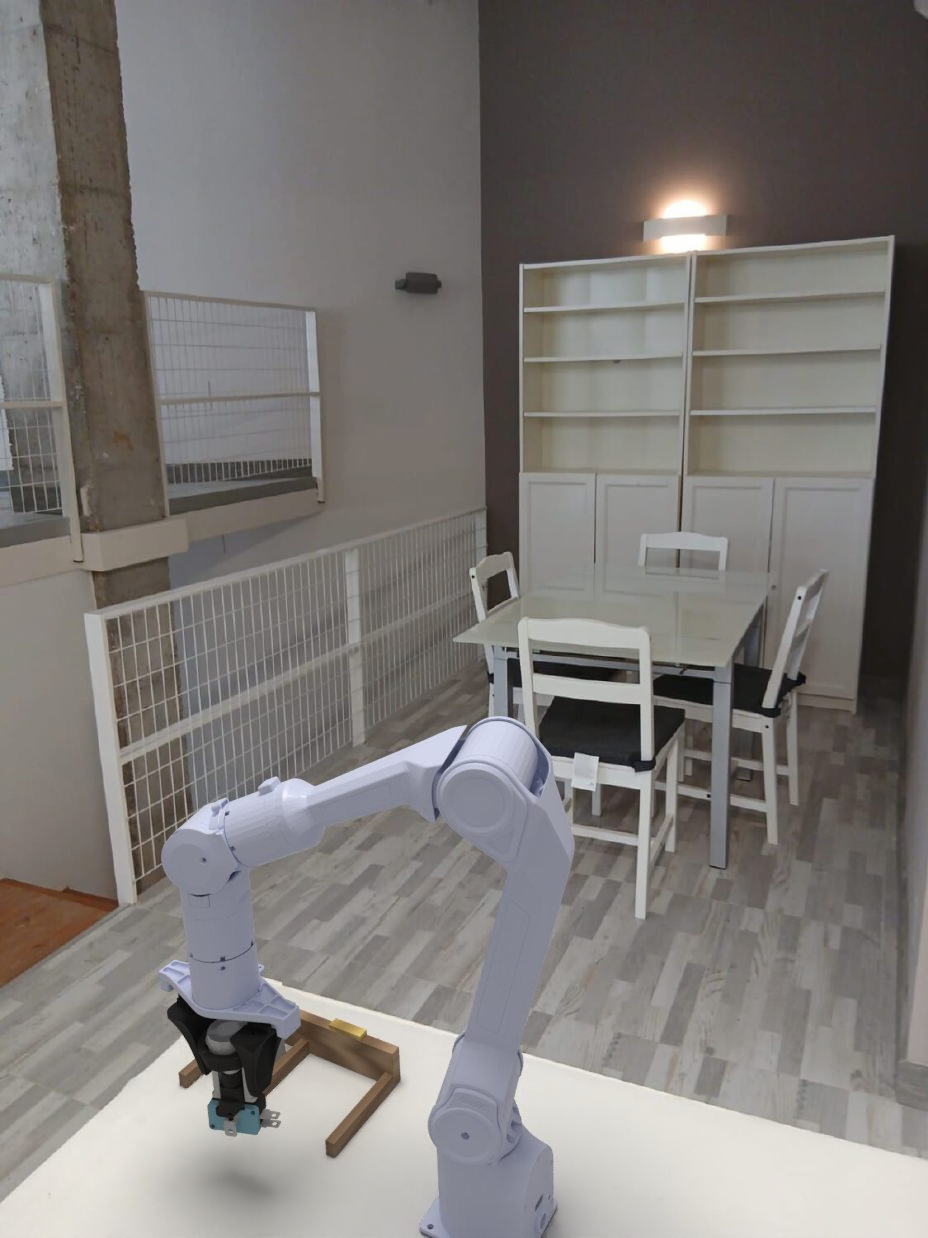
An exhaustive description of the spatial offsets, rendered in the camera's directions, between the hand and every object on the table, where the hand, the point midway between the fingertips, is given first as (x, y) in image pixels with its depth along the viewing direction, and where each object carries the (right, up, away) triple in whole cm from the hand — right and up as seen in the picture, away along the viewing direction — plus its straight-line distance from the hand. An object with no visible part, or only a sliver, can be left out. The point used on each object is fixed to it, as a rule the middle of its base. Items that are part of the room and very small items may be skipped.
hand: (236, 1078), depth 82 cm
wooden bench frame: (+2, -7, +13) cm, 15 cm away
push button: (+1, -5, +1) cm, 5 cm away
